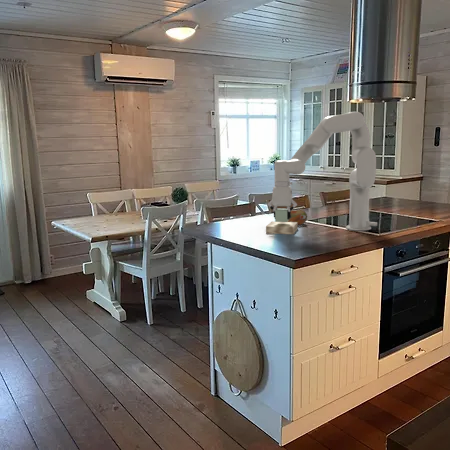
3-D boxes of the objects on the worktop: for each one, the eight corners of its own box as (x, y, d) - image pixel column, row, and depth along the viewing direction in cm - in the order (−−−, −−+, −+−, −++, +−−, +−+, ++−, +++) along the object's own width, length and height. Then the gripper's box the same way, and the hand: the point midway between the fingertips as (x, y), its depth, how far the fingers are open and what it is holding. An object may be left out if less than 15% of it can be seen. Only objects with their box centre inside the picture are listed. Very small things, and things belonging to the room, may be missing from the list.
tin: (282, 226, 257) (282, 211, 256) (280, 225, 260) (279, 210, 259) (307, 224, 261) (307, 209, 259) (304, 223, 264) (304, 208, 262)
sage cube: (288, 220, 246) (288, 208, 244) (286, 222, 240) (286, 210, 239) (277, 219, 247) (277, 208, 246) (275, 221, 242) (275, 210, 241)
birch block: (297, 229, 249) (297, 222, 248) (293, 235, 236) (293, 227, 235) (271, 228, 253) (271, 221, 253) (266, 234, 240) (265, 226, 240)
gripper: (299, 183, 241) (299, 218, 244) (267, 183, 246) (267, 217, 250) (297, 185, 234) (297, 220, 237) (263, 185, 239) (264, 219, 243)
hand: (282, 218), depth 243 cm, fingers closed on sage cube, 5 cm apart
